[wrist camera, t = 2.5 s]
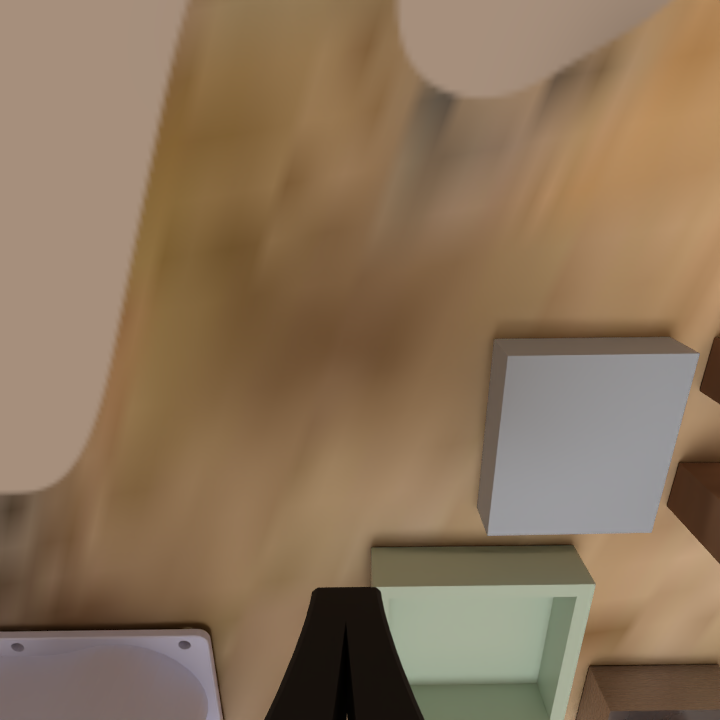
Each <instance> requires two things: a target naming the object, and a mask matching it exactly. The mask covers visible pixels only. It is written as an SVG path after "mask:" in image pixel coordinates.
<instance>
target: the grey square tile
mask: <svg viewBox="0 0 720 720" xmlns="http://www.w3.org/2000/svg"><path fill="white" fill-rule="evenodd" d="M699 354H700V353H698V352H696V351H694V350H693V349H691V348H689V347H687V346H685V345H684V344H682V343H680V342H678V341H676V340H675V339H673V338H671V337H612V338H523V339H494V345H493V355H492V364H491V374H490V384H489V394H488V404H487V414H486V424H485V434H484V444H483V454H482V464H481V474H480V484H479V494H478V504H477V509H478V511H479V514H480V517H481V520H482V522H483V525H484V528H485V530H486V533H487V536H500V535H552V534H603V533H651V532H652V529H653V525H654V521H655V518H656V514H657V510H658V506H659V503H660V499H661V495H662V492H663V488H664V484H665V480H666V477H667V473H668V469H669V466H670V462H671V458H672V454H673V451H674V447H675V443H676V440H677V436H678V432H679V428H680V425H681V421H682V417H683V414H684V410H685V406H686V403H687V399H688V395H689V391H690V388H691V384H692V380H693V377H694V373H695V369H696V365H697V362H698V358H699Z"/></svg>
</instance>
